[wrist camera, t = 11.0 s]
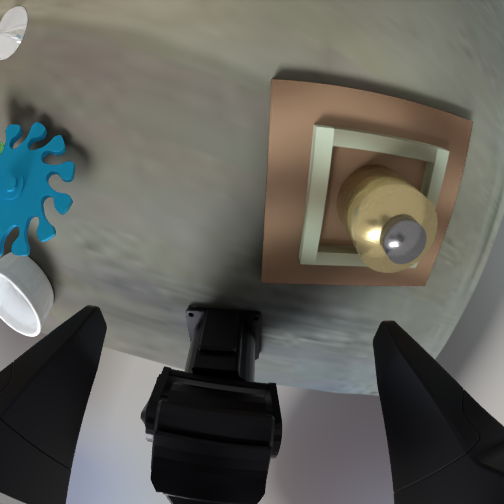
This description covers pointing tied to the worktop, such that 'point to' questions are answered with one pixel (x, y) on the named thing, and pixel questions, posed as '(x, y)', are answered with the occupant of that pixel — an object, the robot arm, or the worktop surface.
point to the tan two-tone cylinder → (386, 218)
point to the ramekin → (24, 294)
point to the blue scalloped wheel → (29, 185)
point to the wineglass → (12, 30)
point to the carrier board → (340, 167)
